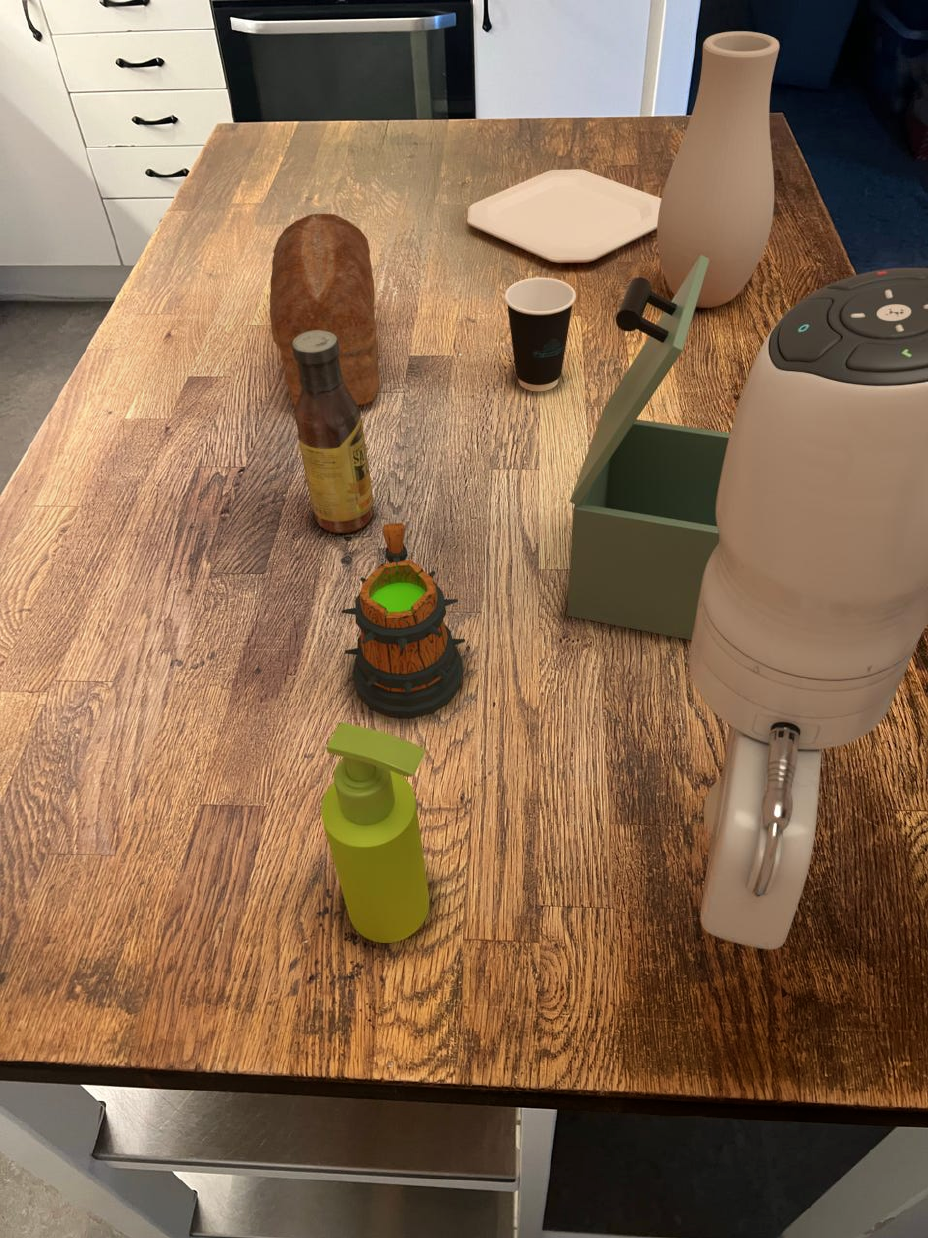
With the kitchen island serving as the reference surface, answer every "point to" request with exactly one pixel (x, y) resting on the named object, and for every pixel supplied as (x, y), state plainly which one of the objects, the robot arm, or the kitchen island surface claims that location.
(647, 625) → the bin
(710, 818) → the beige ball
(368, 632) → the mug
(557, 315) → the dixie cup
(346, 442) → the sauce bottle
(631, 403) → the bin lid
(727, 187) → the vase
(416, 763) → the soap dispenser
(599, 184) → the plate
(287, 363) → the bread
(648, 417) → the kitchen island surface
